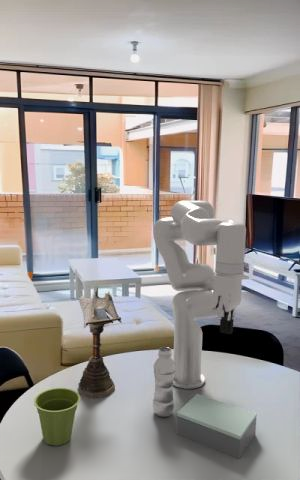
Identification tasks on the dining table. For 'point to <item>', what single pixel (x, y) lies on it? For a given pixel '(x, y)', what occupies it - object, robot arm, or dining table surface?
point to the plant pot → (57, 414)
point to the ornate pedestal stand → (97, 344)
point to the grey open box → (216, 437)
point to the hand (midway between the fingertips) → (226, 332)
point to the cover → (217, 416)
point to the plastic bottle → (164, 383)
